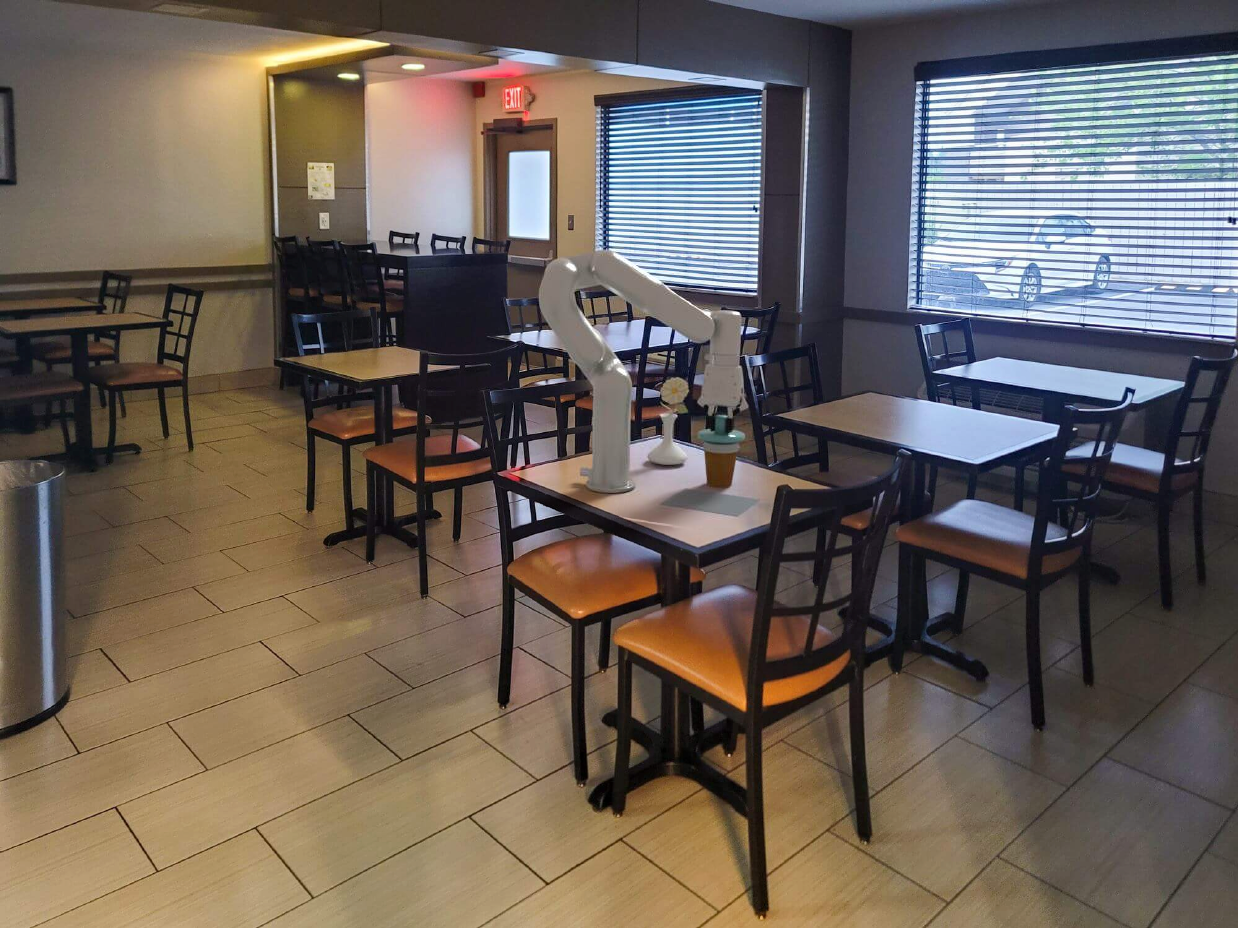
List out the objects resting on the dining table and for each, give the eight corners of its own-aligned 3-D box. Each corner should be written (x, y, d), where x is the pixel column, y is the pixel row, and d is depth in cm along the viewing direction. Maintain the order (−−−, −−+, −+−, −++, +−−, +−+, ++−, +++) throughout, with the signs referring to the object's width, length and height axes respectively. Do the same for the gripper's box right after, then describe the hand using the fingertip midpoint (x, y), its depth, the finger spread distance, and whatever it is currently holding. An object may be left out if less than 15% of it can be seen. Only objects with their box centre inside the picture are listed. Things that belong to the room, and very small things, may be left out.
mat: (659, 505, 240) (659, 503, 240) (685, 490, 254) (685, 488, 253) (737, 518, 231) (737, 516, 231) (760, 501, 245) (760, 499, 245)
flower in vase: (638, 462, 281) (640, 374, 275) (667, 456, 288) (669, 371, 282) (671, 471, 272) (674, 381, 265) (699, 465, 279) (703, 377, 273)
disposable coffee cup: (735, 492, 252) (738, 446, 250) (698, 489, 254) (700, 444, 251) (739, 482, 262) (741, 438, 259) (703, 480, 263) (704, 436, 260)
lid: (690, 439, 252) (691, 417, 251) (707, 430, 262) (708, 410, 261) (735, 444, 247) (736, 423, 246) (751, 435, 257) (752, 415, 256)
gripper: (688, 359, 250) (685, 430, 255) (750, 365, 243) (746, 438, 247) (699, 356, 257) (697, 425, 261) (760, 361, 249) (757, 432, 254)
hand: (721, 430), depth 254 cm, fingers closed on lid, 3 cm apart
